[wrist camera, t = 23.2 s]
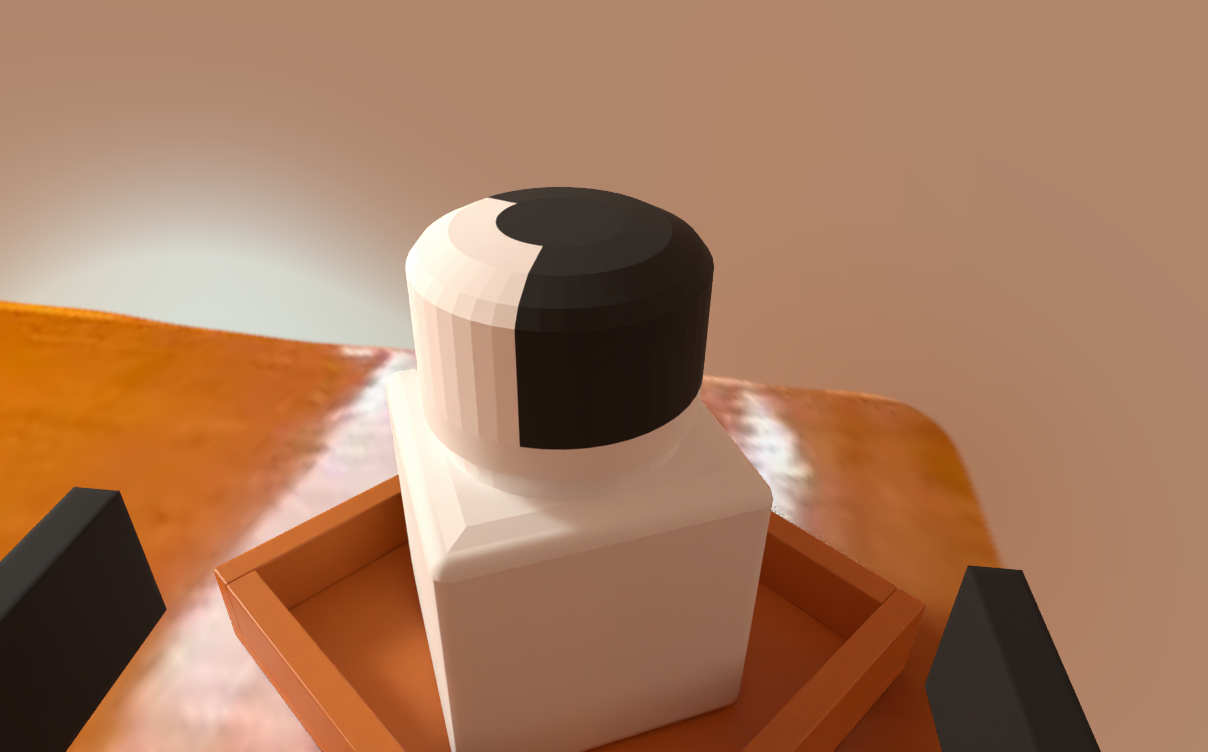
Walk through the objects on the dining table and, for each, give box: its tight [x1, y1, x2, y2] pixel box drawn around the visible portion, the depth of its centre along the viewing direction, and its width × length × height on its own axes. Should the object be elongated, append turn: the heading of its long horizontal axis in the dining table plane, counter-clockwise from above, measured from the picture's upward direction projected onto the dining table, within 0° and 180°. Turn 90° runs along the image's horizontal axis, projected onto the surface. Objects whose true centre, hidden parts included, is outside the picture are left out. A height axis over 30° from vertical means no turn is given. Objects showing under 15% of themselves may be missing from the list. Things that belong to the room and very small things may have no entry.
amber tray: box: [214, 474, 925, 752], centre depth 22 cm, size 14×13×3 cm
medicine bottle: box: [386, 187, 773, 752], centre depth 19 cm, size 7×7×12 cm
